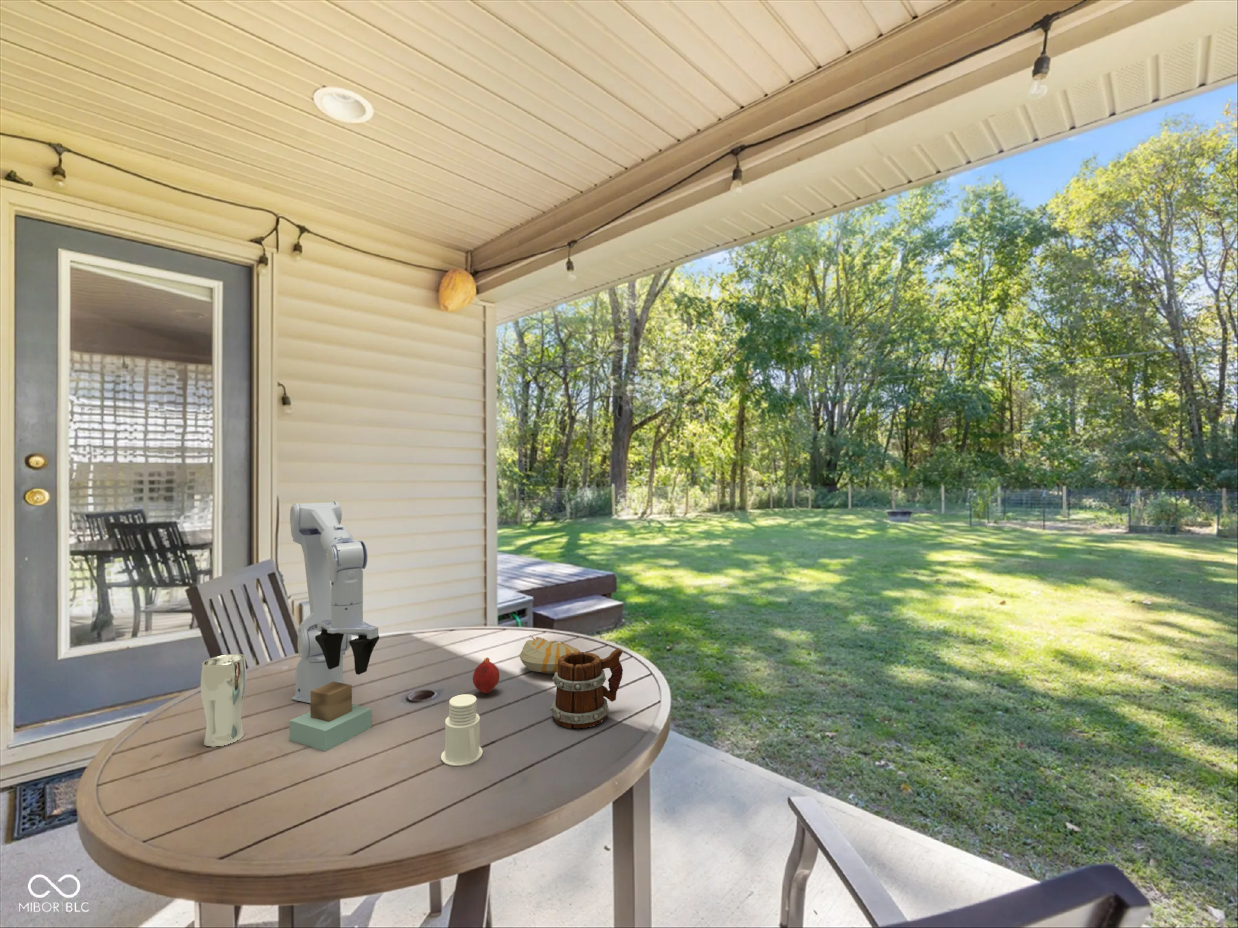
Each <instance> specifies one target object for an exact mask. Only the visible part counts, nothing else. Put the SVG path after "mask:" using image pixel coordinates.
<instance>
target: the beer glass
mask: <svg viewBox="0 0 1238 928" xmlns="http://www.w3.org/2000/svg"><path fill="white" fill-rule="evenodd" d="M246 665H247V664H246V655H245V654H242V653H229V654H223V655H218V656H213V657H211V658H208V659H206V660H203V662H202V663H201V674H200V696H201V703H202V706H203V711H204V717H205V722H206V724H205V725H206V729H205V735H204V739H203V745H206V746H221V747H225V746H228V744H229V745H231V744H233V742H234V743H235V742H238V741H239V740H241V739H242V738H243V737H244V728H243V723H242V710H243V705H244V700H245V695H246V688H247V669H246V668H247V666H246ZM237 740H238V741H237ZM230 743H231V744H230ZM224 745H225V746H224ZM206 746H205V747H206Z"/></svg>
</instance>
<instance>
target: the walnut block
mask: <svg viewBox="0 0 1238 928" xmlns="http://www.w3.org/2000/svg"><path fill="white" fill-rule="evenodd" d="M352 704H353V685H352V684H349V683H344V682H343V683H338V682H331V683H329V684H326V685H324V686H322V687H319V688H317V689H314V690H312V691H311V703H310V712H311V718H315V719H319V720H323V721H327V722H330V721H332V720H334V719H337V718H339V717H341V716H343V715H345V714H347V713H349V712H351V711H352Z"/></svg>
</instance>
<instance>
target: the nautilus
mask: <svg viewBox="0 0 1238 928" xmlns="http://www.w3.org/2000/svg"><path fill="white" fill-rule="evenodd" d="M528 637H529V638H530V639H529V640H526V642H525V643H524V645H523V646H522V650H521V651H520V654H519V659H520V661H521V663H522V664H523V665H524V666H525V668H527V670H529V671H531V672H539V673H541V674H547V675H552V674H555V672H556V671H557V670H558V659H559V658H560V657H561V656H563V655H567V654H569V653H575V652H581V650H579V649H578V648H577V647H574V646H571V645H569V644H568V643H566V642H563V641H558V640H550V641H549V640H547V639H545V638H543V637H539V636H537V637H535V638H534V636H532V635H531V634H529V636H528Z"/></svg>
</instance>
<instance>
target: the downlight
mask: <svg viewBox="0 0 1238 928" xmlns="http://www.w3.org/2000/svg"><path fill="white" fill-rule="evenodd" d="M448 706H449V707H448V712H449V713H448V716H447V717H446V718H445V721H444V726H445V727H444V728H445V729H444V731H445V732H444V751H442V752H441V756H440V759H441V761H442V763H443V764H446V765H447V766H451V767H462V766H467V765H470V764H473V763H475V762H477V761H478V760H480V759H481V757H482V756H483V748H482V747H481V746H480V728H481V727H480V725H481V724H480V723H481V722H480V719H481V718H480V714H478V713H477V697H476V696H475V695H473V694H470V693H469V694H468V693H466V694H465V693H464V694H458V695H456V696H453V697H451V698H450V699H449V704H448Z"/></svg>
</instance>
